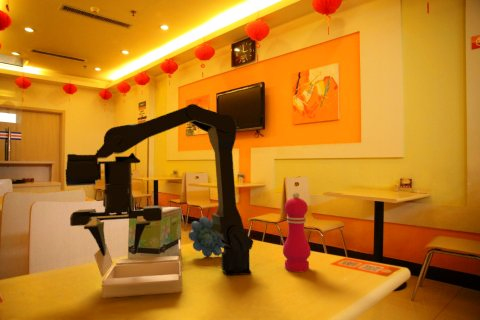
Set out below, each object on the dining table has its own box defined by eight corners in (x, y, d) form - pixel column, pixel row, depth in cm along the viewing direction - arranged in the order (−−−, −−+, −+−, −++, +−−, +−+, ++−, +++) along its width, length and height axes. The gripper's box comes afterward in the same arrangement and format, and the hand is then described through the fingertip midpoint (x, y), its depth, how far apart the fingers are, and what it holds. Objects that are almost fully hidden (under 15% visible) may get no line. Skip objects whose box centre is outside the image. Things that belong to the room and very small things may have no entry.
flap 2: (180, 259, 79) (181, 258, 79) (180, 271, 69) (182, 271, 69) (178, 239, 79) (180, 239, 79) (178, 249, 69) (180, 248, 69)
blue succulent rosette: (187, 261, 91) (187, 219, 92) (189, 255, 98) (189, 215, 98) (227, 260, 92) (227, 218, 92) (227, 254, 99) (227, 215, 99)
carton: (181, 270, 83) (181, 255, 83) (182, 298, 65) (182, 279, 65) (115, 275, 80) (115, 259, 80) (97, 305, 62) (97, 285, 62)
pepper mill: (279, 270, 82) (279, 192, 83) (286, 263, 89) (285, 191, 90) (308, 273, 80) (307, 193, 80) (312, 265, 86) (312, 191, 87)
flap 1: (106, 243, 75) (104, 244, 75) (95, 254, 66) (93, 255, 66) (112, 262, 76) (111, 263, 75) (103, 276, 66) (101, 276, 66)
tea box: (160, 267, 86) (160, 212, 86) (126, 265, 88) (126, 211, 88) (182, 253, 100) (182, 206, 101) (152, 251, 102) (152, 205, 103)
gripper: (162, 181, 81) (164, 242, 81) (83, 184, 78) (85, 248, 77) (160, 182, 71) (162, 254, 70) (68, 186, 67) (70, 261, 67)
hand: (119, 254), depth 71 cm, fingers open, 6 cm apart
